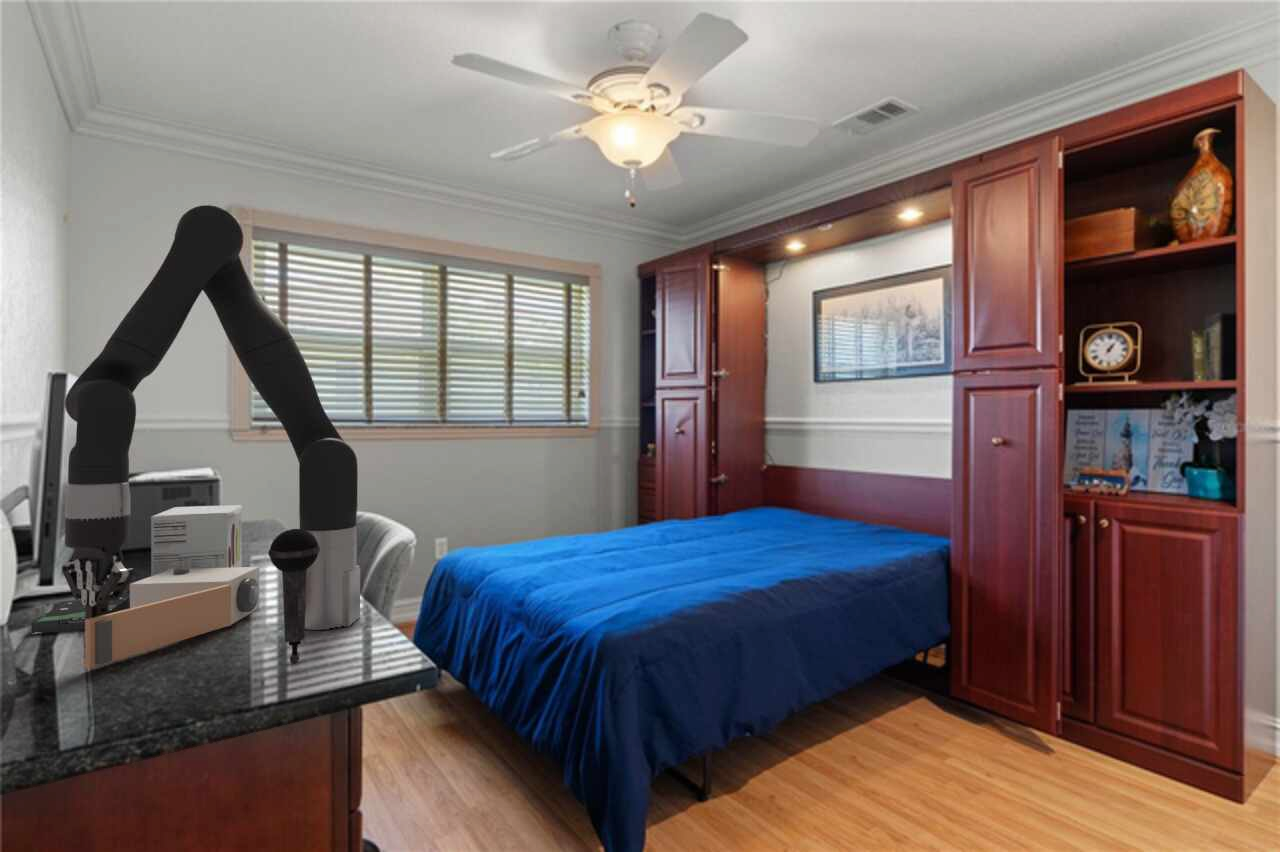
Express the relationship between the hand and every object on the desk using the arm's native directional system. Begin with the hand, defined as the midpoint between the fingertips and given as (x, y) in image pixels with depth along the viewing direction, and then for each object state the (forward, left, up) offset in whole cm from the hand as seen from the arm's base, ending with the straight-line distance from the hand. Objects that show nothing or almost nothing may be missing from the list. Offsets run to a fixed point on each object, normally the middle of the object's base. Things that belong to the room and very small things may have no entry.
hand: (96, 629), depth 98 cm
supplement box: (+7, -41, -5) cm, 42 cm away
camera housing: (-2, -23, -5) cm, 23 cm away
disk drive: (+18, -25, -6) cm, 31 cm away
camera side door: (-6, -6, -5) cm, 10 cm away
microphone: (-29, +3, -5) cm, 30 cm away
